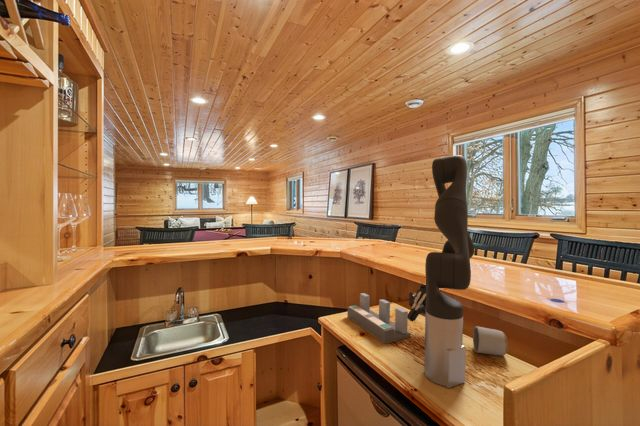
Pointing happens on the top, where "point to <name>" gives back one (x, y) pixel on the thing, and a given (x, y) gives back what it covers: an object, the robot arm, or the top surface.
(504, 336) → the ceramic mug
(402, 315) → the grey tall block
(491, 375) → the top surface
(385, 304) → the gray upright block
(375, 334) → the button console
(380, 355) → the top surface
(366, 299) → the far button
